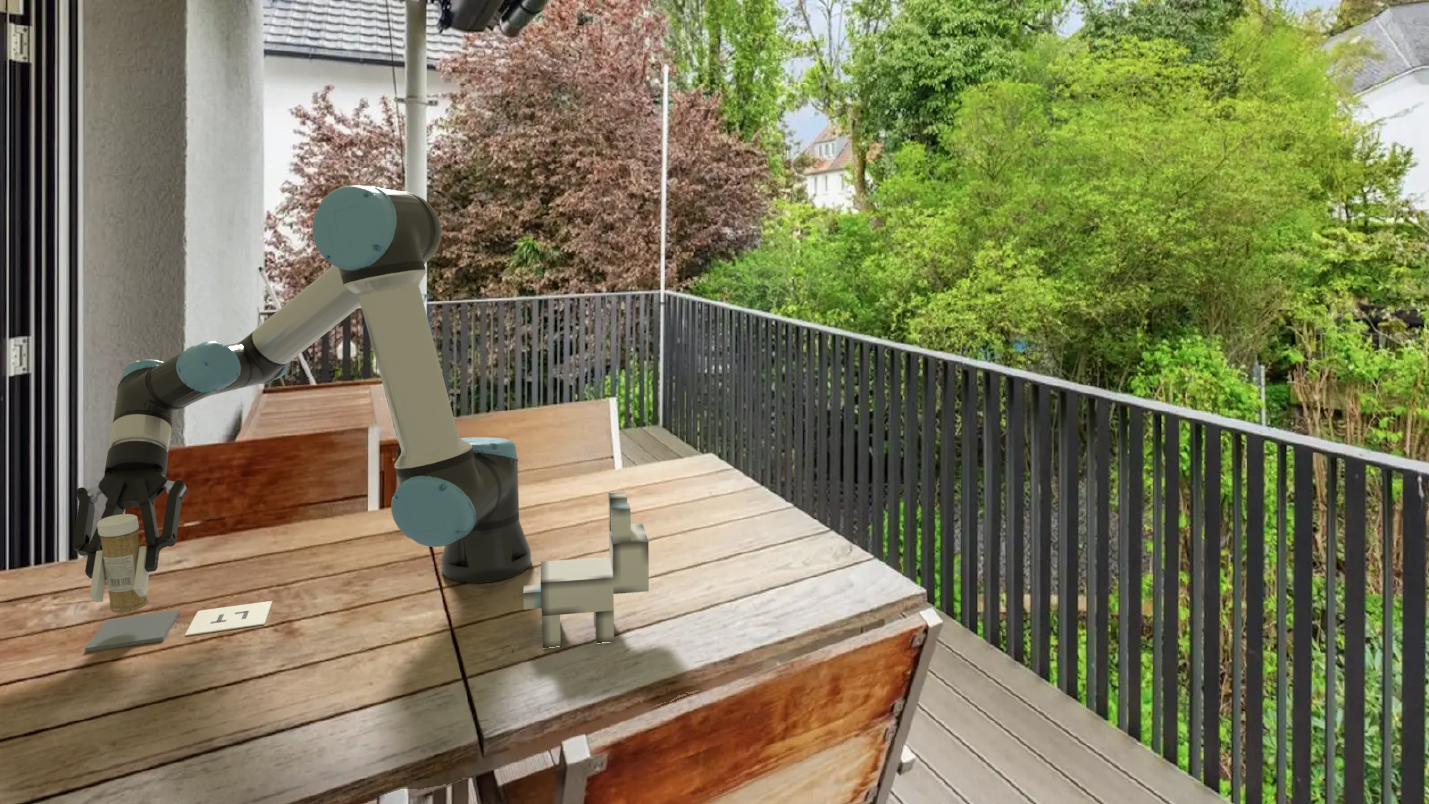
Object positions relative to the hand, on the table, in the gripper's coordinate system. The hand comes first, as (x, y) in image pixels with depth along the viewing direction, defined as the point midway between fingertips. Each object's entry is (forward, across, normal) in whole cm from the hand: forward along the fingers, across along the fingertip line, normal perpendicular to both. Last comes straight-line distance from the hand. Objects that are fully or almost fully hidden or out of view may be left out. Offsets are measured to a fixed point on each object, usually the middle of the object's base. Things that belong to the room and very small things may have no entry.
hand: (118, 595), depth 107 cm
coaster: (+3, 0, -8) cm, 8 cm away
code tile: (+3, -12, -8) cm, 15 cm away
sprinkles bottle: (0, 0, -5) cm, 5 cm away
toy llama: (+19, -61, +9) cm, 65 cm away
